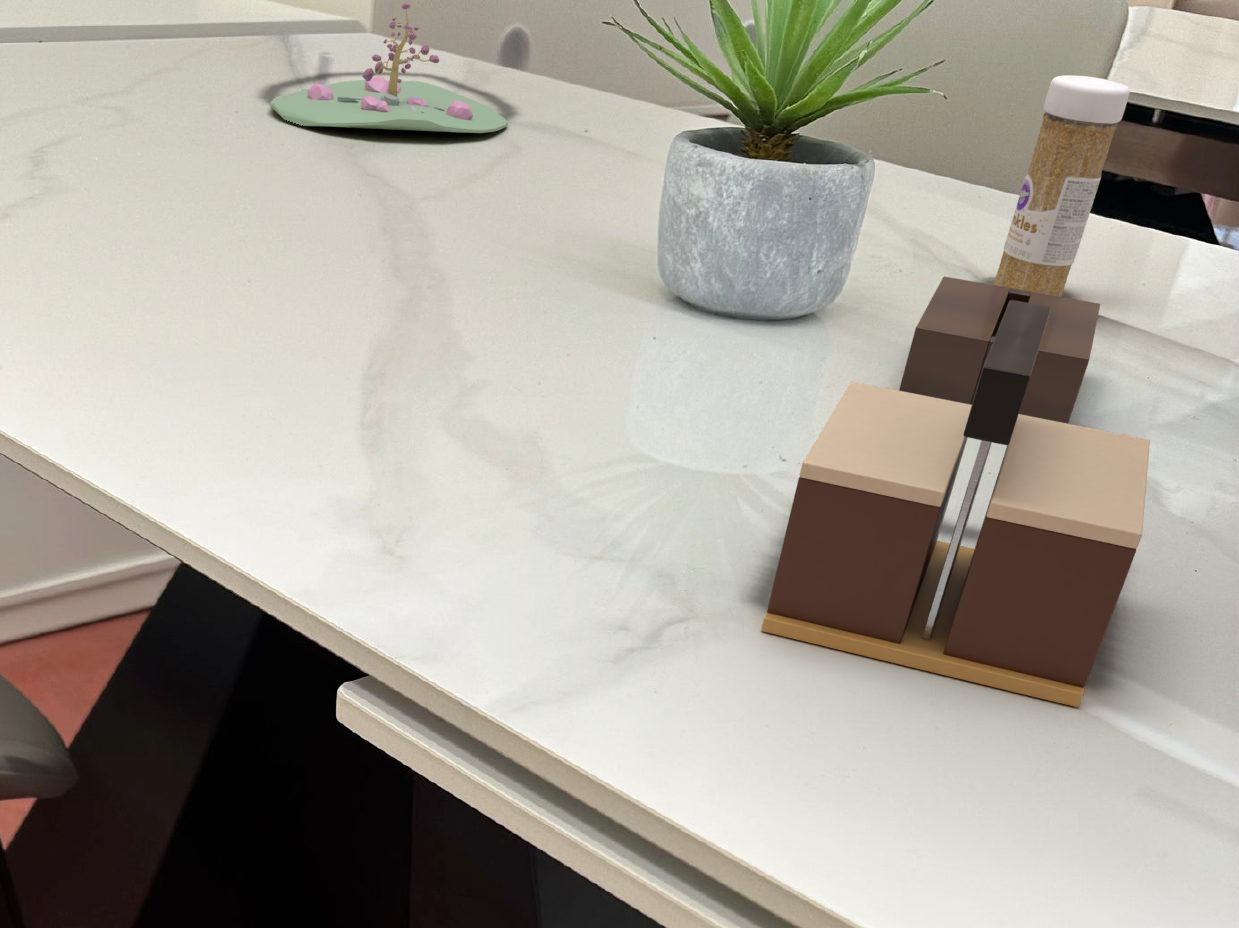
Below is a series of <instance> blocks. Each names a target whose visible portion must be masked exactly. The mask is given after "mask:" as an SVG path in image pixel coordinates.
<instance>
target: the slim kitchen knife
mask: <svg viewBox="0 0 1239 928" xmlns="http://www.w3.org/2000/svg"><path fill="white" fill-rule="evenodd" d="M1050 311H1051V307H1048V306H1043V305H1037V304H1031V303H1026V302H1020V301H1015V300H1010V301H1009V303H1008V306H1007V308H1006V311H1005V313H1004V316H1003V318H1002V321H1001V323H1000V326H999V329H998V331H997V334H996V336H995V339H994V341H993V344H992V346H991V349H990V351H989V354H988V356H987V359H986V362H985V364H984V367H983V369H982V373H981V376H980V380H979V383H978V386H977V390H976V393H975V396H974V400H973V403H972V407H971V410H970V413H969V417H968V420H967V424H966V427H965V430H964V434H963V436H964V437H968V438H969V439H973V440H977V441H980V444H979V447H978V451H977V453H976V457H975V461H974V463H973V467H972V470H971V474H970V477H969V480H968V483H967V485H966V490H965V493H964V496H963V500H962V503H961V507H960V511H959V513H958V516H957V521H956V523H955V526H954V530H953V534H952V536H951V539H950V543H949V544H950V546H949V549H948V552H947V556H946V559H945V562H944V566H943V569H942V572H941V576H940V579H939V582H938V585H937V589H936V592H935V595H934V599H933V602H932V605H931V609H930V612H929V615H928V618H927V622H926V625H925V628H924V632H923V635H922V639H925V640H930V637H931V634H932V631H933V628H934V625H935V621H936V618H937V615H938V612H939V609H940V606H941V603H942V600H943V597H944V594H945V591H946V588H947V585H948V582H949V579H950V576H951V573H952V570H953V567H954V564H955V561H956V558H957V555H958V551H959V548H960V546H962V542H963V539H964V535H965V531H966V528H967V525H968V521H969V518H970V516H971V512H972V508H973V506H974V503H975V499H976V497H977V493H978V490H979V486H980V483H981V479H982V476H983V473H984V471H985V470H984V469H985V466H986V463H987V460H988V456H989V455H990V454H989V453H990V450H991V447H992V444H993V443H994V444H998V445H1003V446H1007V445H1009V443H1010V440H1011V437H1012V434H1013V431H1014V427H1015V424H1016V421H1017V418H1018V415H1019V411H1020V408H1021V405H1022V402H1023V399H1024V396H1025V392H1026V389H1027V386H1028V383H1029V380H1030V376H1031V373H1032V370H1033V367H1034V363H1035V360H1036V357H1037V353H1038V350H1039V347H1040V344H1041V340H1042V337H1043V334H1044V331H1045V327H1046V324H1047V321H1048V318H1049V314H1050ZM968 438H967V439H968Z"/></svg>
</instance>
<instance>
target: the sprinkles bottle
mask: <svg viewBox="0 0 1239 928" xmlns="http://www.w3.org/2000/svg"><path fill="white" fill-rule="evenodd" d="M1130 93H1131V91H1130V88H1129V87H1128V86H1127V85H1125V84H1124V83H1121V82H1118V81H1115V80H1114V81H1113V80H1110V79H1106V78H1100V77H1094V76H1086V75H1069V74H1068V75H1059V76H1058V75H1057V76H1055V77H1053V78H1052V80H1051V81H1050V84H1049V87H1048V90H1047V93H1046V97H1045V100H1044V103H1043V107H1042V109H1043V112H1044V113H1043V115H1042V123H1041V126H1040V129H1039V133H1038V136H1037V140H1036V143H1035V147H1034V149H1033V153H1032V157H1031V159H1030V163H1029V166H1028V171H1027V174H1026V175H1025V177H1024V179H1023V183H1022V187H1021V189H1020V193H1019V196H1018V199H1017V203H1016V207H1015V210H1014V213H1013V216H1012V219H1011V223H1010V226H1009V229H1008V232H1007V235H1006V238H1005V243H1004V246H1003V253H1002V256H1001V259H1000V263H999V265H998V266H999V267H998V268H997V272H996V275H995V279H994V281H993V285H996V286H1002V287H1008V288H1013V289H1019V290H1025V291H1031V293H1032V292H1036V293H1042V294H1047V295H1053V296H1059V297H1063V294H1064V290H1065V286H1066V284H1067V281H1068V277H1069V276H1070V275H1069V274H1070V271H1071V269H1072V266H1073V264H1074V262H1075V259H1076V256H1077V253H1078V252H1079V251H1078V250H1079V248H1080V244H1081V241H1082V238H1083V236H1084V232H1085V229H1086V226H1087V222H1088V220H1089V216H1090V213H1091V210H1092V208H1093V204H1094V201H1095V198H1096V194H1097V192H1098V189H1099V185H1100V182H1101V180H1102V179H1101V178H1102V172H1103V169H1104V166H1105V162H1106V160H1107V157H1108V153H1109V150H1110V147H1111V143H1112V139H1113V137H1114V133H1115V131H1116V130H1117V128H1118V123H1119V122H1121V121H1122V120H1123V116H1124V113H1125V111H1126V107H1127V103H1128V99H1129V96H1130Z"/></svg>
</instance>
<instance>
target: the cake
mask: <svg viewBox="0 0 1239 928" xmlns="http://www.w3.org/2000/svg"><path fill="white" fill-rule="evenodd" d="M971 407H972V405H970V404H964V403H959V402H954V401H949V400H944V399H939V398H934V397H929V396H924V395H918V394H913V393H908V392H903V391H899V389H898V390H897V389H892V388H887V387H882V386H877V385H871V384H868V383H867V384H866V383H861V382H857V381H851V382H850V383H849V385H848V386H847V388H846V390H845V392H843V395H842V396H841V398H840V399H839V402H838V403H837V405H836V406H835V408H834V410H833V411H832V413H831V415H830V416H829V418H828V420H827V421H826V423H825V424H824V427H822V430H821V431H820V433H819V434H818V437H817V438H816V439H815V441H814V443H813V445H812V446H811V448H810V450H809V451H808V453H807V454H806V456H805V458H804V460H803V461H802V463H801V467H800V470H799V477H798V478H797V483H796V488H795V491H794V495H793V496H794V497H793V500H792V505H791V508H790V513H789V517H788V522H787V526H786V530H785V534H784V538H783V543H782V547H781V551H780V555H779V559H778V563H777V568H776V570H775V571H776V572H775V576H774V580H773V585H772V587H771V588H772V589H771V592H770V597H769V601H768V605H767V608H766V614H765V615H764V617H763V620H762V624H761V629H760V630H761V632H764V633H767V634H772V635H776V636H780V637H785V638H789V639H793V640H797V641H801V642H806V643H809V644H814V645H817V646H822V647H826V648H831V649H834V650H838V651H841V652H846V653H850V654H855V655H858V656H863V657H868V658H871V659H875V660H880V661H885V662H889V663H892V664H896V665H901V666H905V667H909V668H912V669H917V670H921V671H925V672H929V673H934V674H938V675H942V676H947V677H950V678H954V679H958V680H963V681H967V682H970V683H975V684H978V685H983V686H986V687H987V686H988V687H991V688H996V689H999V690H1005V691H1008V692H1012V693H1017V694H1021V695H1024V696H1029V697H1033V698H1037V699H1041V700H1045V701H1049V702H1054V703H1058V704H1062V705H1066V706H1070V707H1074V708H1079V707H1080V705H1081V702H1082V700H1083V697H1084V693H1085V688H1086V687H1087V683H1088V681H1089V678H1090V676H1091V672H1092V670H1093V667H1094V664H1095V662H1096V659H1097V657H1098V654H1099V651H1100V649H1101V646H1102V643H1103V640H1104V638H1105V636H1106V633H1107V629H1108V628H1109V624H1110V623H1111V619H1112V616H1113V614H1114V612H1115V609H1116V606H1117V603H1118V600H1119V598H1120V595H1121V592H1122V590H1123V588H1124V585H1125V582H1126V579H1127V577H1128V574H1129V571H1130V569H1131V566H1132V563H1133V561H1134V558H1135V555H1136V553H1137V549H1138V547H1139V545H1140V542H1141V539H1142V537H1143V529H1144V518H1145V508H1146V507H1145V504H1146V494H1147V482H1148V481H1147V480H1148V470H1149V469H1148V468H1149V457H1150V447H1151V446H1150V444H1151V440H1150V439H1148V438H1143V437H1138V436H1133V435H1128V434H1123V433H1117V432H1113V431H1107V430H1103V429H1097V428H1092V427H1086V426H1082V425H1076V424H1072V423H1068V424H1067V423H1062V422H1056V421H1051V420H1046V419H1041V418H1036V417H1031V416H1026V415H1021V414H1019V415H1018V418H1017V421H1016V424H1015V427H1014V431H1013V434H1012V437H1011V440H1010V443H1009V445H1006V448H1005V451H1004V454H1003V458H1002V460H1001V464H1000V466H999V470H998V473H997V476H996V480H995V483H994V486H993V489H992V493H991V496H990V498H989V502H988V505H987V508H986V512H985V515H984V518H983V521H982V524H981V528H980V530H979V534H978V537H977V540H976V544H975V547H974V548H972V547H967V546H962V545H960V548H959V551H958V555H957V558H956V561H955V564H954V567H953V570H952V573H951V576H950V579H949V582H948V585H947V588H946V591H945V594H944V597H943V600H942V603H941V606H940V609H939V612H938V615H937V618H936V621H935V625H934V628H933V631H932V634H931V637H930V640H925V639H922V635H923V632H924V628H925V625H926V622H927V618H928V615H929V612H930V609H931V605H932V602H933V599H934V595H935V592H936V589H937V585H938V582H939V579H940V576H941V572H942V569H943V566H944V562H945V559H946V556H947V552H948V549H949V546H950V543H949V542H945V541H939V540H938V539H939V536H940V533H941V530H942V526H943V522H944V520H945V516H946V513H947V509H948V505H949V502H950V498H951V495H952V493H953V488H954V485H955V482H956V478H957V476H958V472H959V468H960V464H961V463H962V462H961V461H962V459H963V455H964V452H965V449H966V445H967V442H968V437H964V436H963V434H964V430H965V427H966V424H967V420H968V417H969V413H970V410H971Z"/></svg>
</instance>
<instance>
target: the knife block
mask: <svg viewBox="0 0 1239 928" xmlns="http://www.w3.org/2000/svg"><path fill="white" fill-rule="evenodd" d="M1010 300H1015V301H1020V302H1026V303H1031V304H1037V305H1043V306H1048V307H1051V311H1050V314H1049V318H1048V321H1047V324H1046V327H1045V331H1044V334H1043V337H1042V340H1041V344H1040V347H1039V350H1038V353H1037V357H1036V360H1035V363H1034V367H1033V370H1032V373H1031V376H1030V380H1029V383H1028V386H1027V389H1026V392H1025V396H1024V399H1023V402H1022V405H1021V408H1020V411H1019V414H1021V415H1026V416H1031V417H1036V418H1041V419H1046V420H1051V421H1056V422H1062V423H1067V424H1070V423H1069V422H1070V420H1071V416H1072V414H1073V411H1074V408H1075V404H1076V402H1077V398H1078V396H1079V393H1080V389H1081V387H1082V383H1083V380H1084V377H1085V374H1086V371H1087V369H1088V366H1089V363H1090V359H1091V354H1092V349H1093V343H1094V339H1095V333H1096V329H1097V323H1098V319H1099V314H1100V310H1101V303H1098V302H1093V301H1092V302H1091V301H1087V300H1081V299H1076V298H1069V297H1065V296H1061V297H1059V296H1053V295H1047V294H1042V293H1036V292H1032V293H1031V291H1025V290H1019V289H1013V288H1008V287H1002V286H996V285H994V284H990V283H984V282H979V281H973V280H967V279H961V278H956V277H950V276H943V277H942V278H941V281H939V284H938V286H937V288H936V290H935V291H934V293H933V295H932V297H931V299H930V300H929V302H928V304H927V306H926V308H925V310H924V311H923V314H922V315H921V317H920V319H919V321H918V323H917V324H916V327H915V330H914V333H913V336H912V340H911V344H910V348H909V352H908V354H907V355H908V356H907V358H906V362H905V366H904V370H903V373H902V378H901V380H900V381H901V382H900V385H899V388H898V391H903V392H908V393H913V394H918V395H924V396H929V397H934V398H939V399H944V400H949V401H954V402H959V403H964V404H970V405H972V403H973V400H974V396H975V393H976V390H977V386H978V383H979V380H980V376H981V373H982V369H983V367H984V364H985V362H986V359H987V356H988V354H989V351H990V349H991V346H992V344H993V341H994V339H995V336H996V334H997V331H998V329H999V326H1000V323H1001V321H1002V318H1003V316H1004V313H1005V311H1006V308H1007V306H1008V303H1009V301H1010Z"/></svg>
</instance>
